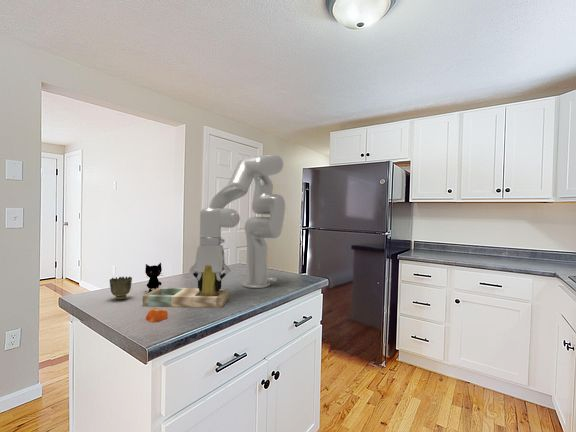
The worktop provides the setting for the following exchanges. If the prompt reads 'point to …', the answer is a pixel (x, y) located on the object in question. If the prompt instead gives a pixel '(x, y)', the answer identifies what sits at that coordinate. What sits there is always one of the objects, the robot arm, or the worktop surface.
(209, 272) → the vase
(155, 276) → the cat figurine
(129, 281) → the cup
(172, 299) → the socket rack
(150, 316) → the rock
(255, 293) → the worktop surface
